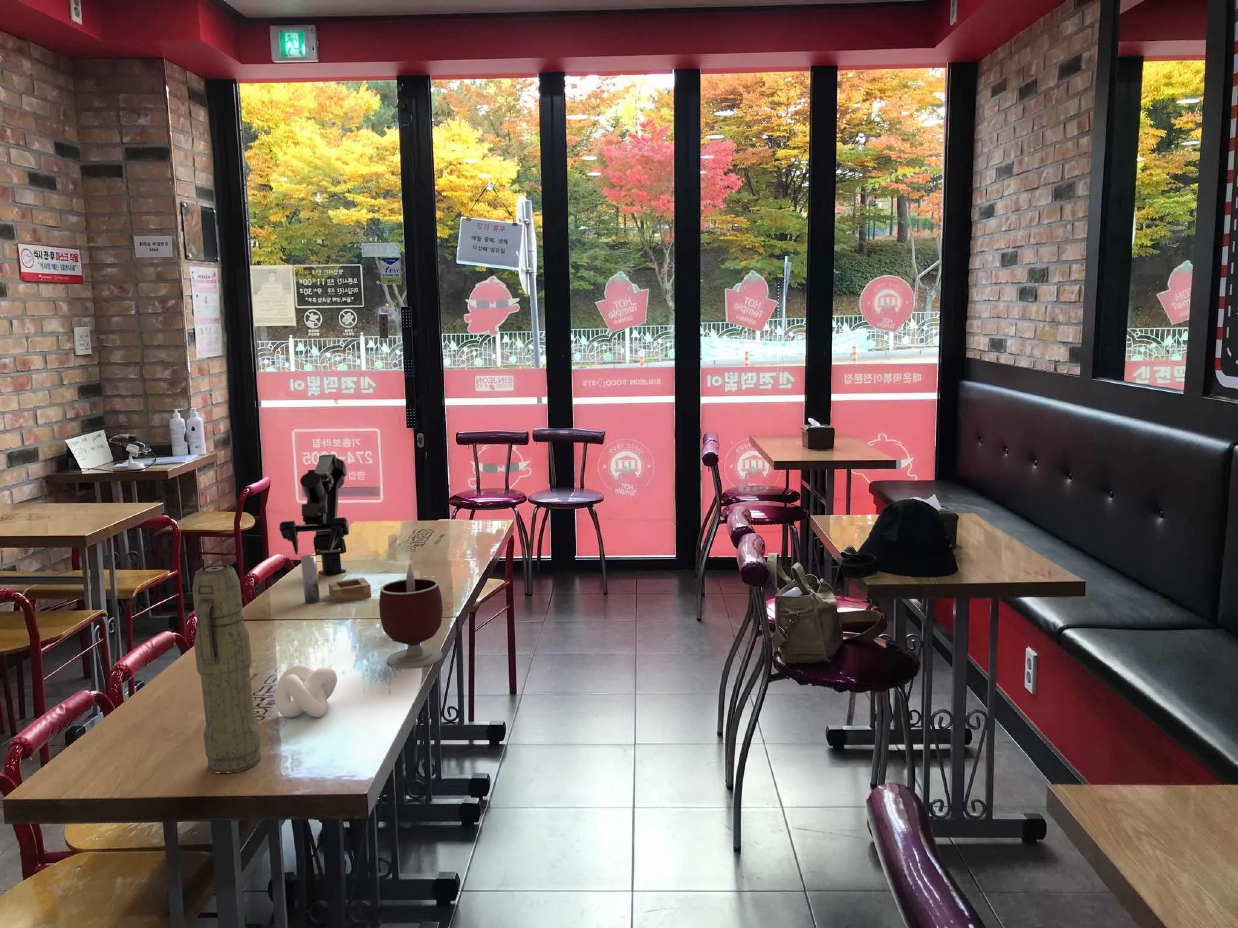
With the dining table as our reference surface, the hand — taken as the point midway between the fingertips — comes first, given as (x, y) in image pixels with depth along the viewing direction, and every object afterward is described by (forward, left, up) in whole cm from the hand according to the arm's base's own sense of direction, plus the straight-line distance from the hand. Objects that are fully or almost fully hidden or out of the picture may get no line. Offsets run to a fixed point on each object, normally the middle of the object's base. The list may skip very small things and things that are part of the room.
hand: (312, 552), depth 277 cm
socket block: (+8, +6, -13) cm, 16 cm away
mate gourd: (+70, -11, -13) cm, 72 cm away
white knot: (+82, -43, -13) cm, 94 cm away
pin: (+5, -4, -13) cm, 14 cm away
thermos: (+93, -62, -13) cm, 113 cm away
